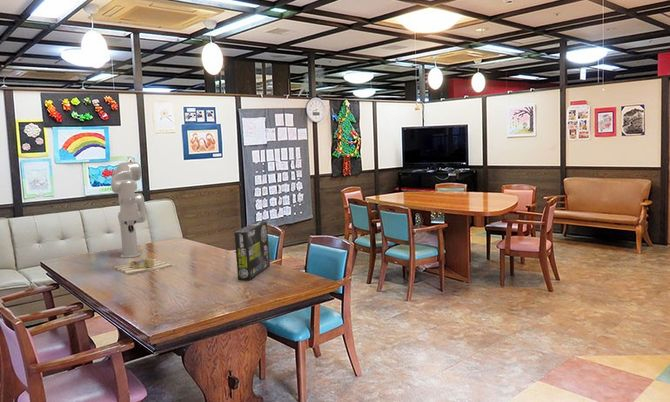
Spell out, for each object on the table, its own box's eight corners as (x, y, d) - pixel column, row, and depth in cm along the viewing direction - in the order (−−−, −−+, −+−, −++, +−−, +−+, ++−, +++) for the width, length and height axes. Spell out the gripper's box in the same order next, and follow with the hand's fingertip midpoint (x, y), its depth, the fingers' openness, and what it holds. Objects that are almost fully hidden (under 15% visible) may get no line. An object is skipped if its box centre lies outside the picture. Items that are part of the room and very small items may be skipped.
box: (250, 280, 280) (247, 231, 278) (237, 280, 282) (233, 231, 279) (270, 266, 313) (267, 221, 310) (258, 265, 315) (255, 221, 312)
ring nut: (140, 270, 310) (140, 262, 309) (125, 265, 322) (125, 258, 322) (162, 265, 320) (162, 257, 319) (147, 261, 333) (146, 254, 332)
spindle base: (113, 268, 324) (112, 262, 324) (154, 260, 341) (154, 255, 341) (128, 275, 305) (128, 268, 304) (171, 266, 322) (171, 260, 321)
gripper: (114, 203, 306) (117, 234, 308) (142, 201, 311) (144, 231, 313) (115, 202, 313) (117, 232, 315) (141, 200, 318) (144, 230, 320)
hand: (131, 232), depth 314 cm, fingers closed
